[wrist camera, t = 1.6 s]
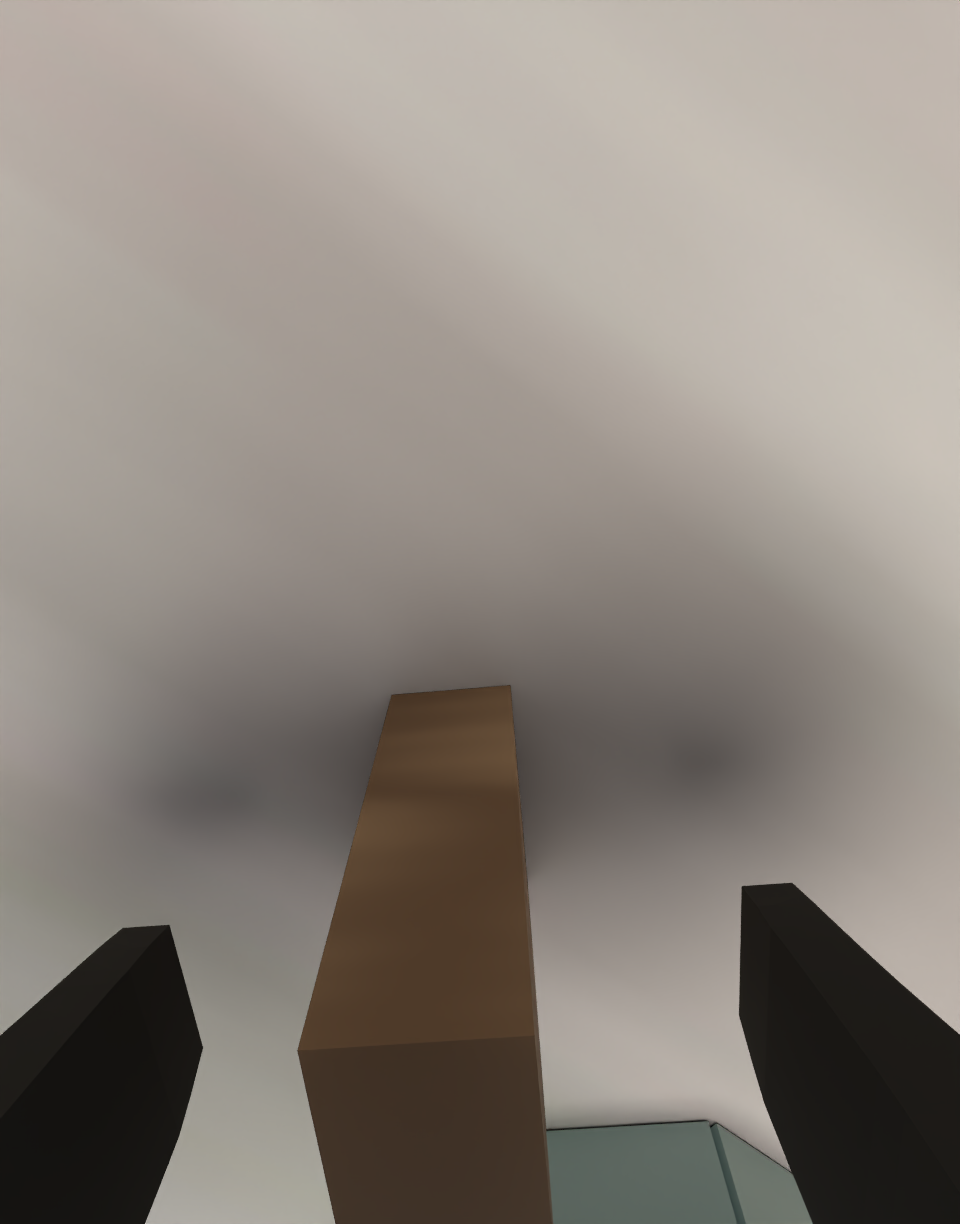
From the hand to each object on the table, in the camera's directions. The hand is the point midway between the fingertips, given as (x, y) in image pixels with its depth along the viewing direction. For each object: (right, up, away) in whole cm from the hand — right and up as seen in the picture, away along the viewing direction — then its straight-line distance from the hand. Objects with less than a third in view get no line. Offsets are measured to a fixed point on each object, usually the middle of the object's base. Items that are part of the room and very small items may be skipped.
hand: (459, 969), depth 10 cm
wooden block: (0, +1, +4) cm, 4 cm away
